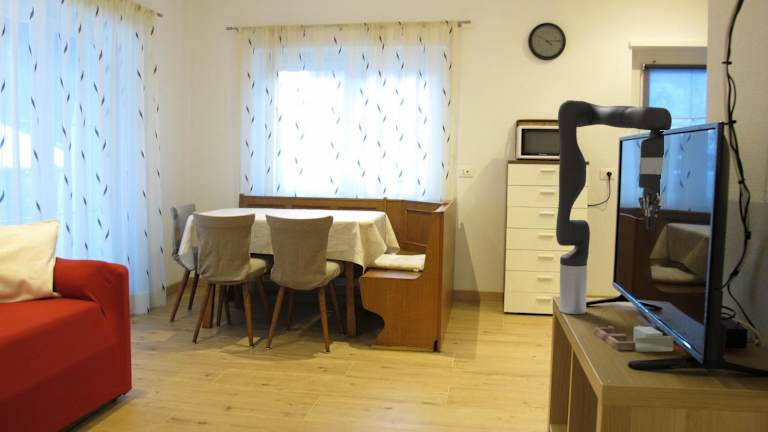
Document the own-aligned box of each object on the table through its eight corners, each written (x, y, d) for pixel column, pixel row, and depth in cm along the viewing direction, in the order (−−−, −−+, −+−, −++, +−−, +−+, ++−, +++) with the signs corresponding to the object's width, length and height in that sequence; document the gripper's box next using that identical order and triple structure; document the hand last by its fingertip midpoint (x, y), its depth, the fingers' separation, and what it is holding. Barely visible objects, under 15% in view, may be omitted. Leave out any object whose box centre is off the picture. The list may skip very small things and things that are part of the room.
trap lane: (592, 332, 187) (592, 319, 187) (640, 331, 188) (640, 319, 188) (619, 351, 167) (619, 338, 167) (673, 351, 168) (673, 337, 168)
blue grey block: (633, 343, 176) (633, 327, 176) (649, 343, 176) (650, 326, 176) (644, 350, 169) (645, 333, 169) (661, 350, 169) (662, 333, 169)
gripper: (630, 172, 189) (629, 226, 191) (650, 172, 176) (648, 230, 178) (653, 172, 190) (652, 226, 191) (675, 172, 176) (673, 230, 178)
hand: (650, 228), depth 184 cm, fingers closed
